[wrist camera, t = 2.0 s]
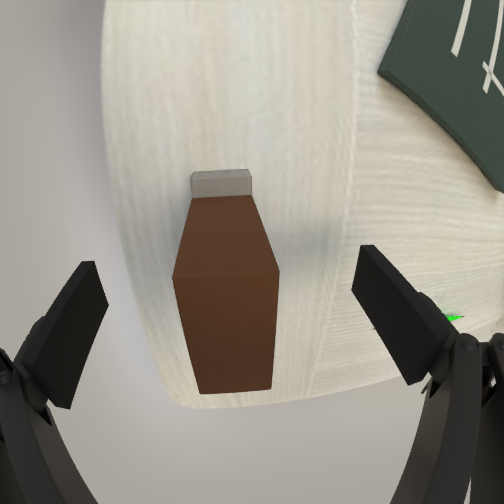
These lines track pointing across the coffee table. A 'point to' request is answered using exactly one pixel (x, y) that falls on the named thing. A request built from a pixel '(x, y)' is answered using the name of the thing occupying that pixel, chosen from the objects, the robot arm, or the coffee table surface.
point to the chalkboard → (455, 72)
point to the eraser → (227, 286)
